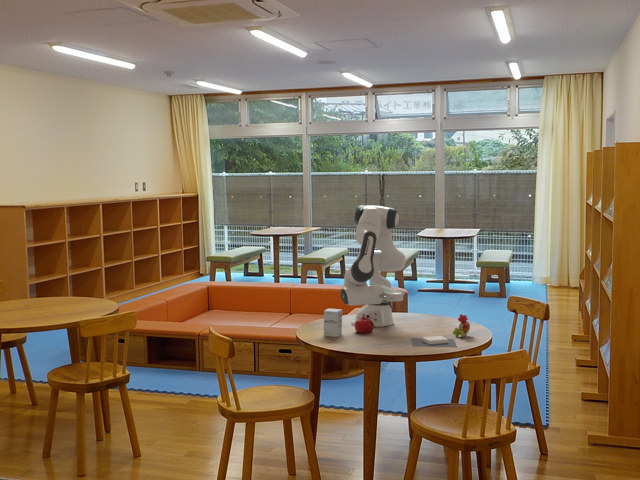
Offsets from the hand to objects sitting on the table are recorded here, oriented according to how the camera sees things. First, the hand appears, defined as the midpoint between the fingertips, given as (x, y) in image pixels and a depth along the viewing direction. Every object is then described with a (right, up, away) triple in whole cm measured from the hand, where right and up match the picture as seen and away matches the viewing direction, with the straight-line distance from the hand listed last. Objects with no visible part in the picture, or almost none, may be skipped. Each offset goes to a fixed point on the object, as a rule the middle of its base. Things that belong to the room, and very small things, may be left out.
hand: (403, 292), depth 304 cm
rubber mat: (+14, -24, +4) cm, 28 cm away
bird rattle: (+31, -23, +19) cm, 43 cm away
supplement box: (-32, -23, +20) cm, 44 cm away
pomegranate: (-16, -22, +27) cm, 38 cm away
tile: (+10, -23, +2) cm, 25 cm away
